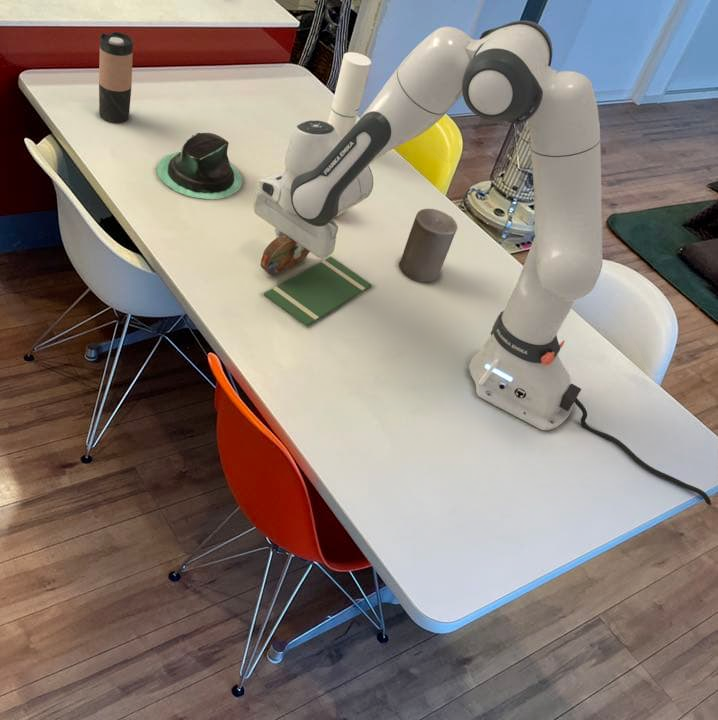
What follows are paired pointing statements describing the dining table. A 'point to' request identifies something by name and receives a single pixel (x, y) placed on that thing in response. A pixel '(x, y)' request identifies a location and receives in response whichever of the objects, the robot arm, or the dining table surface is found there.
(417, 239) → the pillar candle
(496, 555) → the dining table surface
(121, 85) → the travel mug
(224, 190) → the hat
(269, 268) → the tin
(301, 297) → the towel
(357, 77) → the cylindrical container
